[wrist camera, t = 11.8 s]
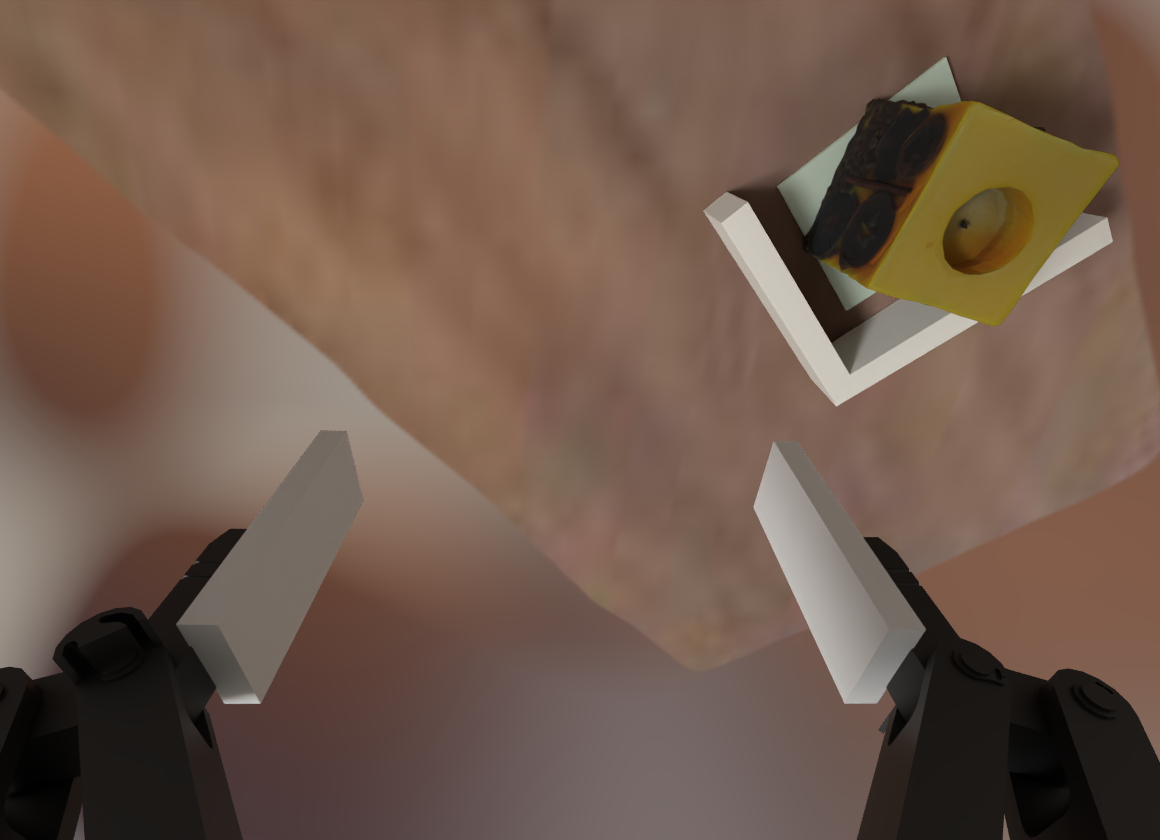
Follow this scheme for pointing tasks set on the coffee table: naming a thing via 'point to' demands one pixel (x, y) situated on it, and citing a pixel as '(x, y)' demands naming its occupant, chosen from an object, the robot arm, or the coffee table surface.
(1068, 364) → the coffee table surface
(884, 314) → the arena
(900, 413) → the coffee table surface
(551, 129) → the coffee table surface
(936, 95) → the pad
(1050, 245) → the candle
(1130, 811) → the robot arm
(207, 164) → the coffee table surface
